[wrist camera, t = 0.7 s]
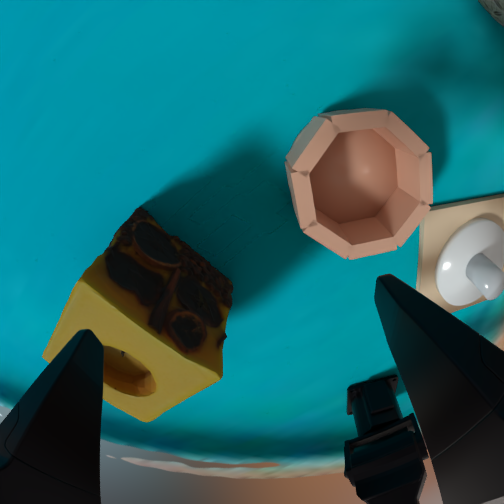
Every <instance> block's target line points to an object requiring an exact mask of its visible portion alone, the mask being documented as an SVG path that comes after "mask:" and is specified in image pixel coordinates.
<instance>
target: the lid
mask: <svg viewBox="0 0 504 504" xmlns="http://www.w3.org/2000/svg"><path fill="white" fill-rule="evenodd" d="M503 265H504V231H503V230H502V228H501V227H500V226H499V225H497V224H496V223H495V222H493V221H492V220H490V219H488V218H482V217H480V218H474V219H471V220H469V221H467V222H466V223H464V224H462V225H461V226H460V227H459V228H458V229H457V230H456V231H455V232H454V233H453V234H452V235H451V236H450V237H449V239H448V240H447V242H446V243H445V245H444V246H443V248H442V250H441V252H440V254H439V257H438V260H437V263H436V268H435V284H436V288H437V290H438V292H439V293H440V295H441V296H442V297H443V298H444V300H445V301H446V302H448V303H449V304H451V305H455V306H462V305H466V304H469V303H472V302H474V301H475V300H477V299H478V298H480V297H481V296H482V295H484V296H485V298H486V299H487V300H493V299H495V298H497V297H498V296H499V295H500V294H501V293H502V291H503V290H504V272H503V271H502V268H503Z"/></svg>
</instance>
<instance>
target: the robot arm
mask: <svg viewBox="0 0 504 504" xmlns="http://www.w3.org/2000/svg"><path fill="white" fill-rule="evenodd" d="M374 299H375V304H376V307H377V310H378V313H379V316H380V319H381V323H382V326H383V329H384V332H385V336H386V339H387V342H388V345H389V348H390V351H391V353H392V355H393V358H394V360H395V363H396V365H397V367H398V370H399V372H400V375H401V377H402V380H403V382H404V385H405V387H406V390H407V392H408V395H409V398H410V400H411V403H412V406H413V408H414V411H415V414H416V417H417V419H418V422H419V425H420V428H421V431H422V434H423V437H424V440H425V443H426V446H427V449H428V452H429V455H430V458H431V460H432V464H433V468H434V472H435V475H436V479H437V482H438V485H439V489H440V493H441V497H442V501H443V504H504V351H503V350H501V349H500V348H498V347H497V346H496V345H494V344H493V343H491V342H490V341H488V340H487V339H486V338H484V337H483V336H482V335H480V336H479V333H477V332H476V331H475V330H473V329H472V328H470V327H469V326H468V325H466V324H465V323H463V322H462V321H461V320H459V319H458V318H456V317H455V316H453V315H452V314H451V313H449V312H448V311H446V310H445V309H443V308H442V307H440V306H439V305H437V304H436V303H435V302H433V301H432V300H430V299H429V298H427V297H426V296H424V295H423V294H421V293H420V292H418V291H417V290H415V289H414V288H412V287H411V286H409V285H408V284H406V283H404V282H403V281H401V280H400V279H398V278H397V277H395V276H394V275H392V274H385V275H381V276H378V277H377V280H376V287H375V296H374ZM103 372H104V347H103V345H102V343H101V342H100V340H99V339H98V338H97V337H96V335H95V334H94V333H93V332H92V330H90V329H82V330H79V331H78V332H77V333H76V334H75V335H74V336H73V337H72V338H71V339H70V340H69V342H68V343H67V344H66V345H65V346H64V347H63V348H62V350H61V351H60V352H59V353H58V354H57V355H56V356H55V358H54V359H53V360H52V361H51V362H50V363H49V365H48V366H47V367H46V368H45V369H44V371H43V372H42V373H41V374H40V375H39V377H38V378H37V379H36V380H35V381H34V383H33V384H32V385H31V386H30V388H29V389H28V390H27V391H26V393H25V394H24V395H23V396H22V398H21V399H20V400H19V402H18V403H17V404H16V405H15V407H14V408H13V409H12V410H11V412H10V413H9V414H8V415H7V417H6V418H5V419H4V420H3V422H2V423H1V424H0V504H101V497H100V433H101V414H102V401H103ZM397 383H398V376H397V375H393V376H389V377H386V378H382V379H379V380H375V381H371V382H367V383H363V384H359V385H355V386H351V387H349V388H348V389H347V414H348V415H352V414H353V415H354V420H355V424H356V428H357V432H358V437H357V438H354V439H351V440H346V441H345V447H344V455H345V470H344V476H345V477H346V478H348V479H349V480H350V482H351V484H352V486H354V487H356V493H357V496H358V497H359V498H360V499H361V500H363V501H365V502H366V503H367V504H420V503H419V498H420V495H421V492H422V489H423V486H424V483H425V480H426V477H427V473H426V470H425V466H424V463H423V460H425V459H427V458H429V456H428V453H427V450H426V446H425V443H424V440H423V438H422V435H421V432H420V429H419V427H418V424H417V421H416V418H415V416H414V413H411V414H409V416H406V417H404V418H403V416H402V413H401V410H400V407H399V404H398V402H397V399H396V396H395V391H396V387H397ZM414 431H415V433H413V432H414Z"/></svg>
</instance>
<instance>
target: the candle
mask: <svg viewBox="0 0 504 504" xmlns="http://www.w3.org/2000/svg"><path fill="white" fill-rule="evenodd" d="M233 288H234V287H233V285H232V282H231V281H230V280H229V279H228V278H226V277H225V276H224V275H223V274H222V273H220V272H219V271H218V270H216V269H215V268H214V267H212V266H211V265H210V263H209V262H208V261H206V260H205V259H204V258H203V257H202V256H200V255H199V254H198V253H196V252H195V251H194V250H193V249H192V248H191V247H190V246H189V245H188V244H186V243H185V242H183V241H180V239H179V238H178V236H170V235H168V234H167V233H166V232H165V231H164V230H163V229H162V228H161V227H160V226H159V225H158V224H157V223H156V221H155V220H154V218H153V217H152V216H151V215H149V213H148V212H147V211H145V210H144V209H142V208H141V207H139V208H137V209H136V210H135V211H134V213H133V214H132V215H131V216H130V217H129V219H128V220H127V221H125V222H124V223H123V225H122V226H121V227H120V228H119V229H118V230H117V232H116V233H115V234H114V238H113V239H112V241H111V242H110V244H109V247H108V248H107V249H106V250H105V251H104V253H103V254H102V255H100V256H98V257H97V258H96V259H95V261H94V262H93V263H92V265H91V266H90V267H88V268H87V269H86V270H85V271H84V273H83V275H82V276H81V278H80V279H79V280H78V282H77V283H76V285H75V286H74V288H73V290H72V292H71V295H70V297H69V299H68V301H67V303H66V305H65V308H64V310H63V312H62V315H61V317H60V319H59V321H58V324H57V326H56V328H55V330H54V332H53V334H52V336H51V338H50V341H49V343H48V345H47V347H46V349H45V350H44V353H43V356H42V357H43V358H44V359H45V360H46V361H47V362H48V363H50V362H51V361H52V360H53V359H54V358H55V356H56V355H57V354H58V353H59V352H60V351H61V350H62V348H63V347H64V346H65V345H66V344H67V343H68V342H69V340H70V339H71V338H72V337H73V336H74V335H75V334H76V333H77V332H78V331H79V330H82V329H90V330H92V332H93V333H94V334H95V335H96V337H97V338H98V339H99V340H100V342H101V343H102V345H103V347H104V372H103V399H104V400H105V401H107V402H109V403H110V404H112V405H113V406H115V407H117V408H119V409H121V410H122V411H124V412H126V413H128V414H130V415H132V416H133V417H135V418H137V419H139V420H141V421H143V422H150V421H152V420H154V419H155V418H157V417H158V416H160V415H161V414H162V413H163V412H165V411H167V410H169V409H170V408H172V407H174V406H175V405H177V404H179V403H180V402H182V401H184V400H185V399H187V398H189V397H190V396H192V395H194V394H196V393H198V392H200V391H202V390H203V389H205V388H207V387H209V386H210V385H212V384H214V383H216V382H217V381H219V380H221V378H222V376H223V354H222V349H223V343H224V340H225V339H226V337H227V336H226V333H225V328H226V322H227V317H228V313H229V310H230V308H231V306H232V296H231V293H232V292H233Z"/></svg>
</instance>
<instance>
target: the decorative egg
mask: <svg viewBox="0 0 504 504" xmlns="http://www.w3.org/2000/svg"><path fill="white" fill-rule="evenodd" d="M478 1H479V2H480V3H481V5H482V6H483V7H484V8H485V9H486V10H487V12H488V13H489V14H490V15H491V16H492V17H493V18H494V19H495V20H496V21H497V22H498V23H500V24H501V25H502V26H503V27H504V0H478Z"/></svg>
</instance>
